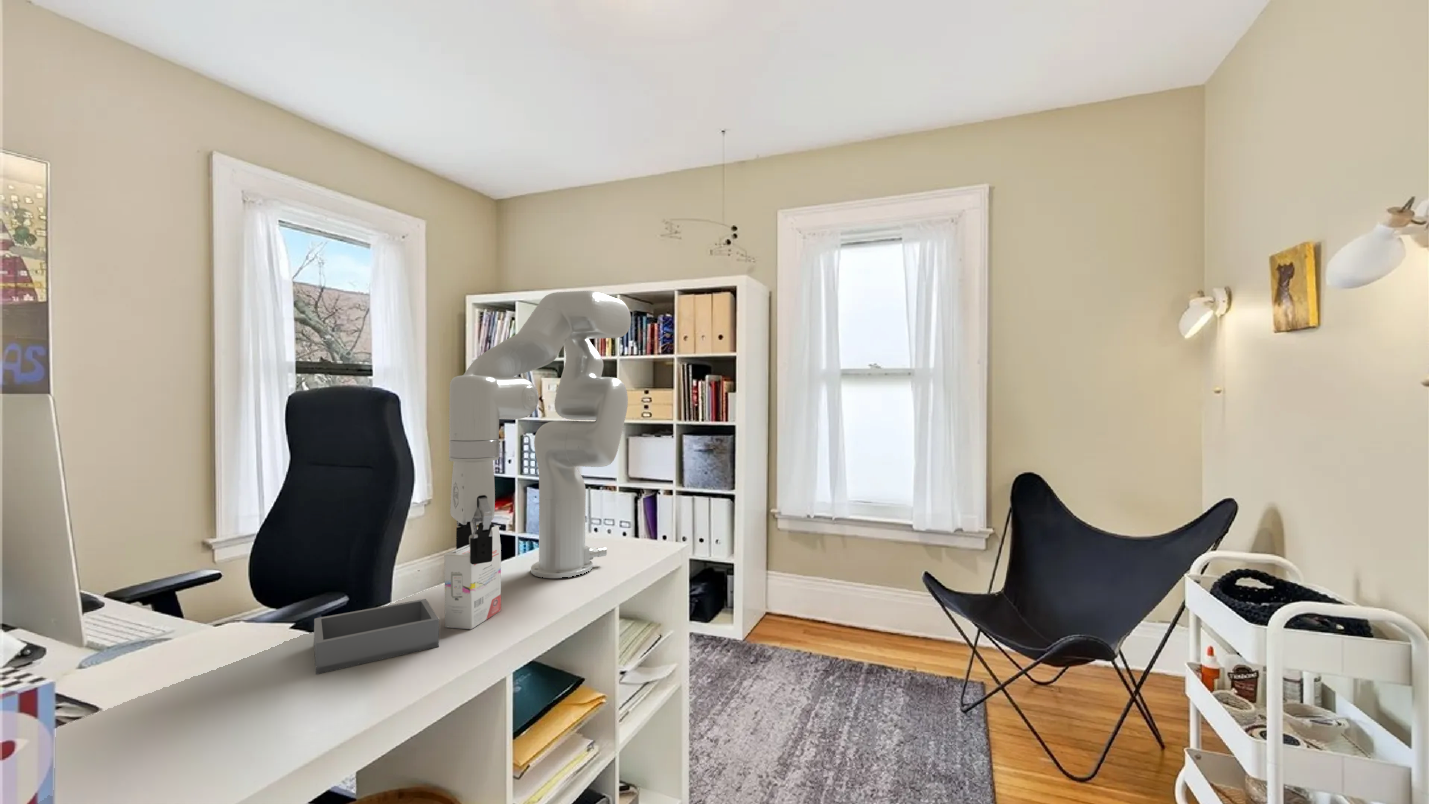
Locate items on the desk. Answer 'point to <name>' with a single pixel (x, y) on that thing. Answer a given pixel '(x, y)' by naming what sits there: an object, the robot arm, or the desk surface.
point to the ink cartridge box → (472, 586)
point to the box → (374, 634)
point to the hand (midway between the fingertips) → (473, 556)
